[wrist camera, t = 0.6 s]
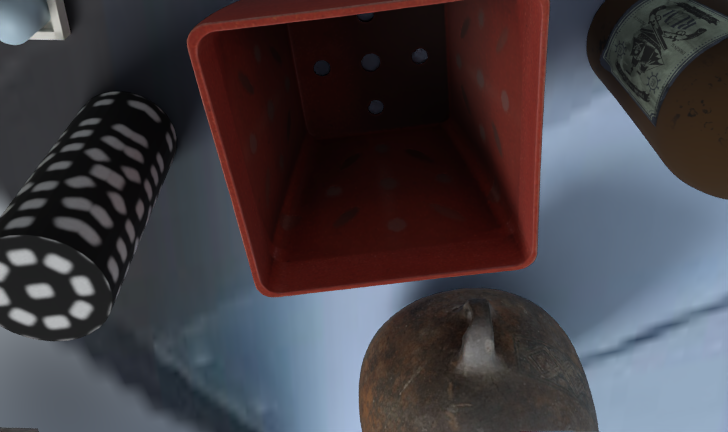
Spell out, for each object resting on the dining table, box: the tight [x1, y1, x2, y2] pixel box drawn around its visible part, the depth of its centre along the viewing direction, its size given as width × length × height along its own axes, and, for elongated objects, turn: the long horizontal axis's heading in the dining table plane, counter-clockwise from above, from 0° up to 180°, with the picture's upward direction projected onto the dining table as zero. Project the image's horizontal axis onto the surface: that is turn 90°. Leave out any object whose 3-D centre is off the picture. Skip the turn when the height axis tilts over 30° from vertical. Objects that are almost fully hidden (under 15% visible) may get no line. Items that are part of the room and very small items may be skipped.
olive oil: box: [587, 0, 728, 199], centre depth 41 cm, size 11×11×25 cm
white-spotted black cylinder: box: [0, 92, 177, 341], centre depth 46 cm, size 8×8×20 cm
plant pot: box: [187, 0, 550, 297], centre depth 45 cm, size 19×19×17 cm
